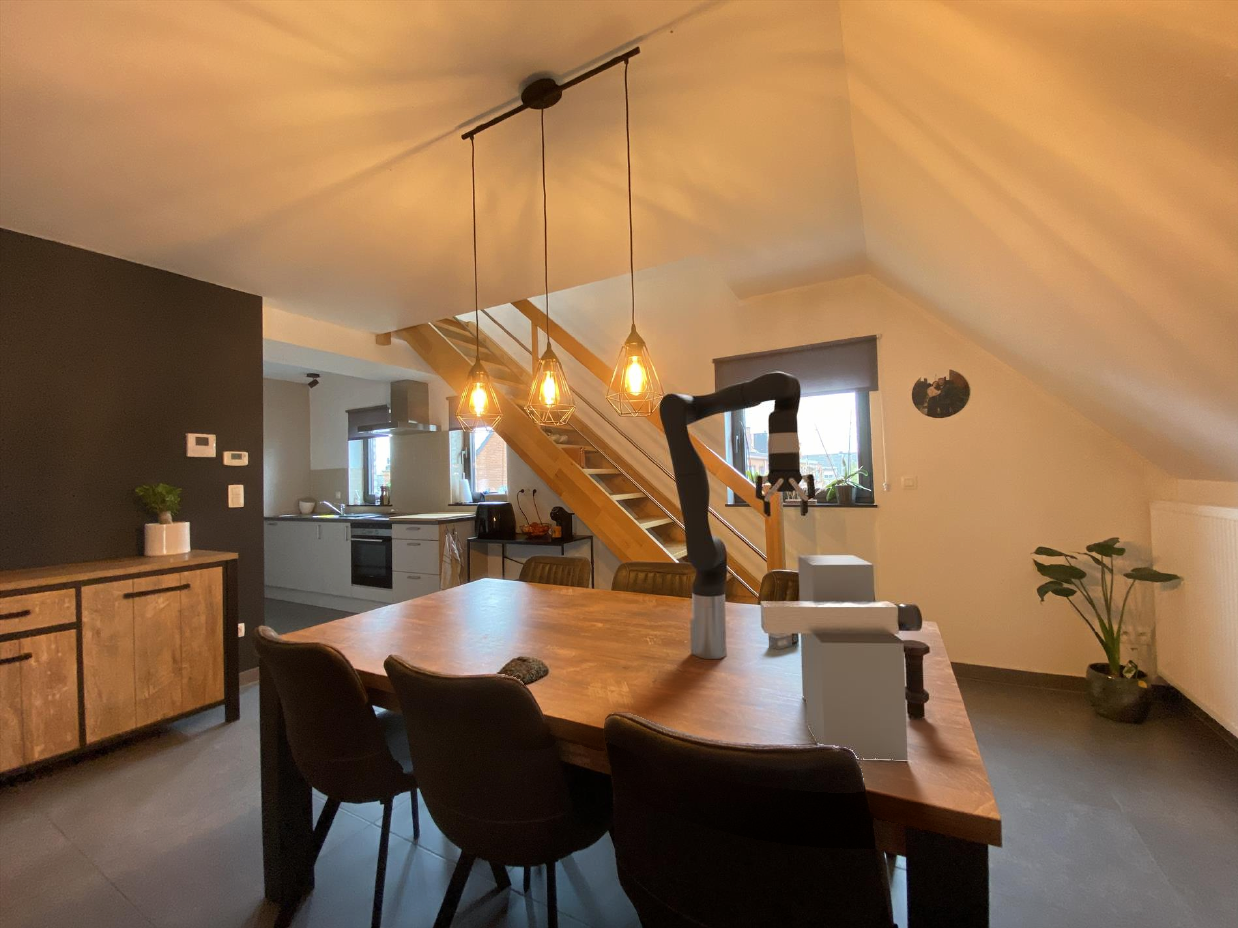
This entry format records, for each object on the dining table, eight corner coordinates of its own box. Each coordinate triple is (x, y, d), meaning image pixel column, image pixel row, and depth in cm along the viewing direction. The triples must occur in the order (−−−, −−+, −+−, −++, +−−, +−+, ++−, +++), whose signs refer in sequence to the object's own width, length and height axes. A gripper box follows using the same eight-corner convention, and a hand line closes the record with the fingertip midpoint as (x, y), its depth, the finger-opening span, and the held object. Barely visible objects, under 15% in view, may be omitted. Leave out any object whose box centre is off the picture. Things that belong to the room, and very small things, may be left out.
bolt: (895, 710, 109) (893, 639, 109) (918, 709, 109) (915, 638, 109) (913, 723, 103) (910, 648, 103) (937, 722, 103) (934, 647, 104)
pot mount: (825, 759, 91) (819, 578, 92) (791, 695, 117) (786, 555, 118) (911, 761, 90) (905, 578, 90) (858, 696, 116) (853, 554, 116)
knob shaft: (765, 633, 96) (764, 607, 96) (761, 626, 101) (760, 600, 101) (922, 634, 93) (921, 607, 93) (910, 627, 98) (909, 600, 98)
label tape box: (778, 650, 147) (777, 607, 148) (767, 646, 151) (766, 604, 151) (799, 644, 152) (798, 602, 152) (788, 640, 155) (787, 599, 155)
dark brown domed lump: (555, 675, 133) (554, 656, 134) (515, 690, 124) (515, 670, 125) (525, 663, 142) (525, 645, 142) (486, 677, 133) (486, 658, 133)
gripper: (808, 451, 132) (810, 514, 132) (752, 453, 134) (754, 515, 133) (816, 450, 125) (819, 516, 124) (757, 452, 126) (759, 517, 126)
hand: (785, 516), depth 129 cm, fingers open, 8 cm apart
